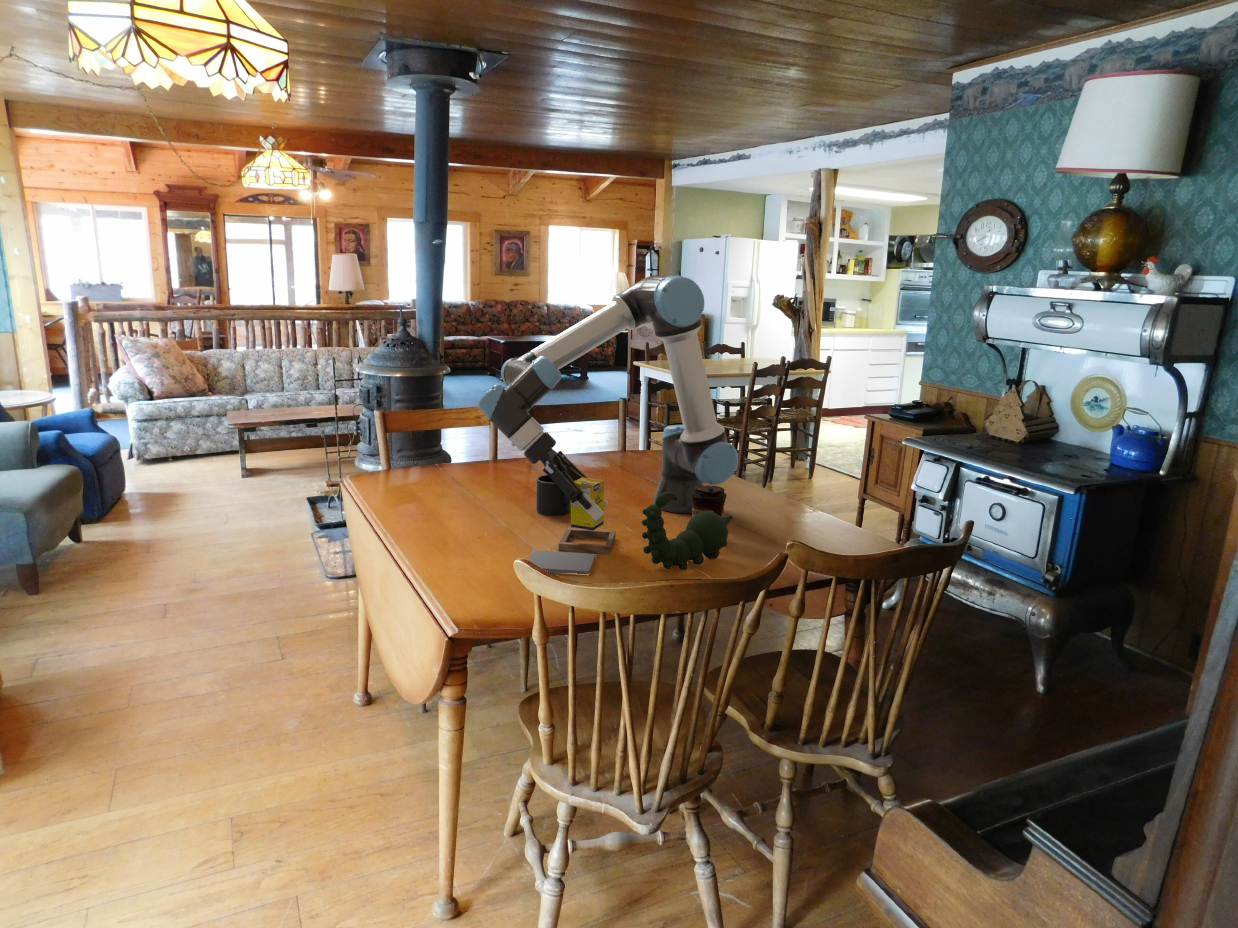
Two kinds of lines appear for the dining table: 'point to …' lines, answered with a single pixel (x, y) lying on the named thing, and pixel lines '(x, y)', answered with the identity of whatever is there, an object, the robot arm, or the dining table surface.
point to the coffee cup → (708, 500)
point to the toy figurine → (683, 536)
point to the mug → (551, 498)
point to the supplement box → (596, 493)
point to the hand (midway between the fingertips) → (602, 511)
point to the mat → (563, 561)
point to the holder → (587, 548)
